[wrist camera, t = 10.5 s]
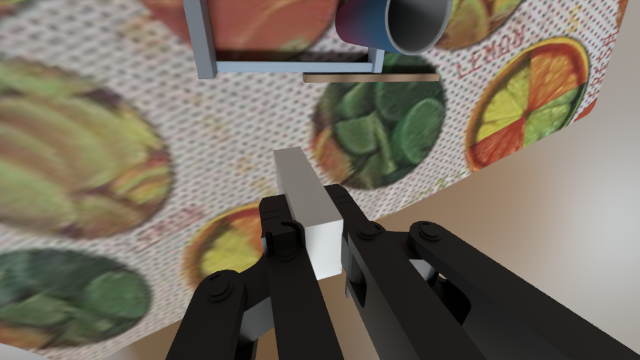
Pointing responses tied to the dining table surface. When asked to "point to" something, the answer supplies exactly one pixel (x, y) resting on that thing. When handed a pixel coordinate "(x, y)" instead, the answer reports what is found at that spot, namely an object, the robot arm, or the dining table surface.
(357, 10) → the cup
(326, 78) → the lane guides
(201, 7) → the frame
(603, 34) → the dining table surface
